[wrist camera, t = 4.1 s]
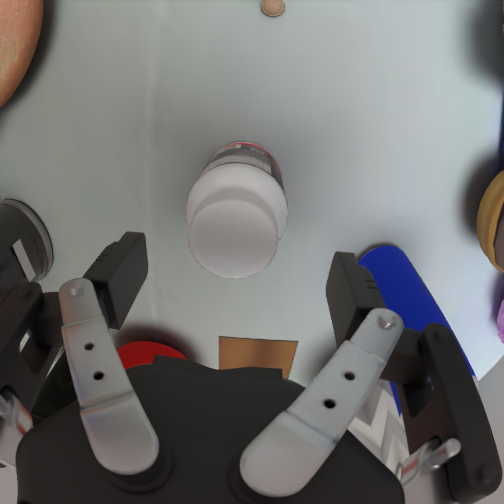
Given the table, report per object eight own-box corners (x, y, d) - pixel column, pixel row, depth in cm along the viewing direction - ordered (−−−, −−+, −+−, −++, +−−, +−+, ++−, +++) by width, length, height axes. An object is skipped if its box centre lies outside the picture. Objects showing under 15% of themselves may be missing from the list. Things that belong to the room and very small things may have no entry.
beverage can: (397, 290, 27) (457, 427, 14) (347, 290, 27) (390, 443, 14) (411, 242, 24) (498, 380, 11) (357, 240, 24) (426, 399, 11)
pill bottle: (275, 214, 23) (282, 297, 15) (204, 206, 23) (173, 285, 15) (285, 144, 20) (303, 191, 12) (208, 136, 20) (170, 178, 12)
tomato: (121, 309, 29) (81, 394, 20) (217, 344, 31) (204, 436, 22) (112, 362, 34) (85, 434, 25) (190, 390, 36) (177, 465, 27)
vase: (300, 328, 29) (317, 517, 14) (447, 302, 28) (520, 449, 12) (306, 407, 38) (315, 533, 22) (417, 386, 36) (450, 499, 20)
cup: (110, 382, 37) (85, 454, 26) (63, 362, 35) (32, 429, 25) (110, 352, 33) (77, 435, 23) (57, 329, 32) (16, 404, 21)
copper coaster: (219, 384, 35) (219, 385, 35) (219, 336, 30) (219, 337, 30) (284, 388, 35) (284, 389, 35) (297, 341, 30) (298, 342, 30)
